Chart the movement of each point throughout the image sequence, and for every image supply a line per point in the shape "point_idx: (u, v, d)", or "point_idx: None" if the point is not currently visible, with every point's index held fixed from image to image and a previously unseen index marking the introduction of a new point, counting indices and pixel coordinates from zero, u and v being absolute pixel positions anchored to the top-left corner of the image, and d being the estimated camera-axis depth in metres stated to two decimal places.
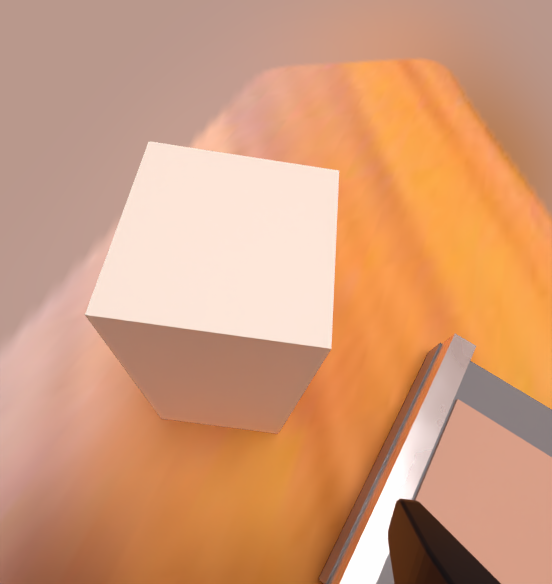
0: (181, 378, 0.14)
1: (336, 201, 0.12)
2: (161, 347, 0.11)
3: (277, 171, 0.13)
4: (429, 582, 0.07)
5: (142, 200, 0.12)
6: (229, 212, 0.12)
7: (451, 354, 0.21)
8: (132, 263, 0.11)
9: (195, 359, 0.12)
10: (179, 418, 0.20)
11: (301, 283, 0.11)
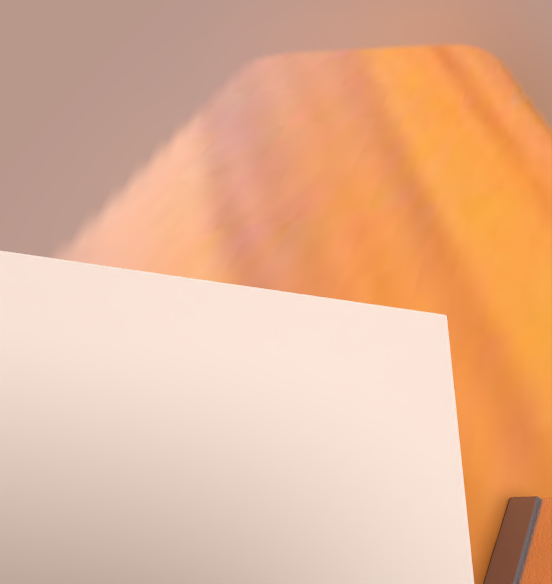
0: None
1: (455, 450, 0.03)
2: None
3: (247, 327, 0.04)
4: None
5: None
6: (35, 549, 0.03)
7: None
8: None
9: None
10: None
11: None
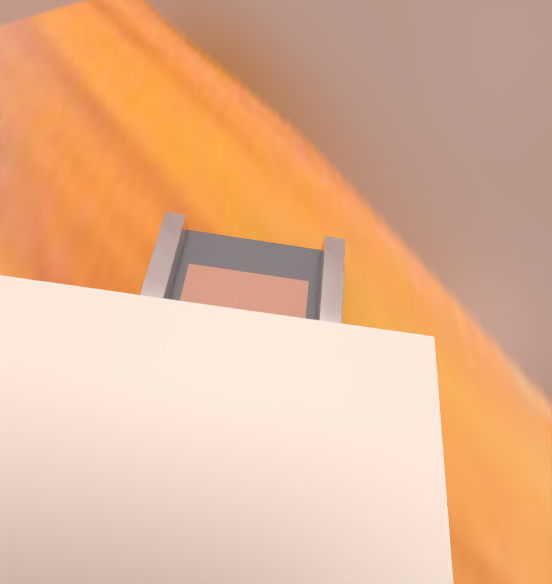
0: None
1: (439, 461, 0.04)
2: None
3: (253, 350, 0.04)
4: None
5: None
6: (68, 553, 0.03)
7: (165, 229, 0.24)
8: None
9: None
10: None
11: None
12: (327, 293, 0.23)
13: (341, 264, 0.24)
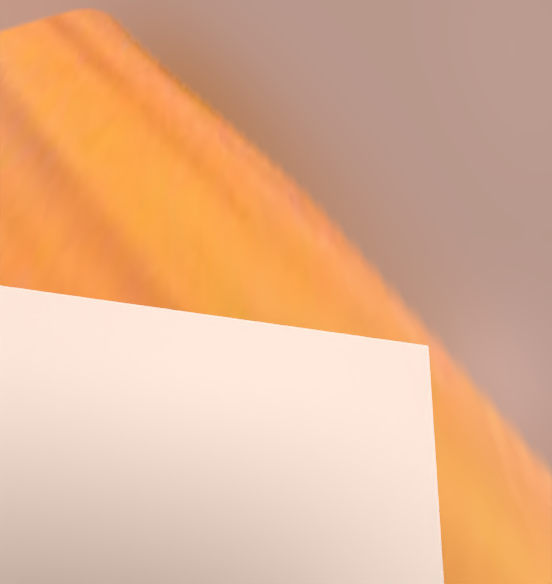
0: None
1: (432, 468, 0.04)
2: None
3: (251, 359, 0.04)
4: None
5: None
6: (73, 557, 0.03)
7: None
8: None
9: None
10: None
11: None
12: None
13: None
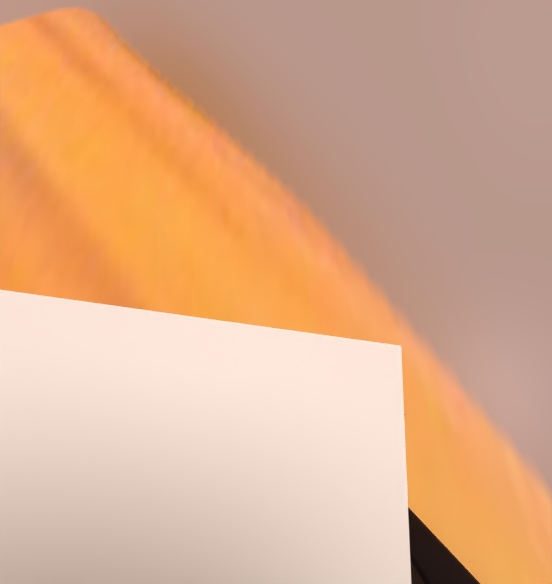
0: None
1: (402, 446, 0.05)
2: None
3: (252, 356, 0.05)
4: None
5: None
6: (110, 514, 0.04)
7: None
8: None
9: None
10: None
11: None
12: None
13: None
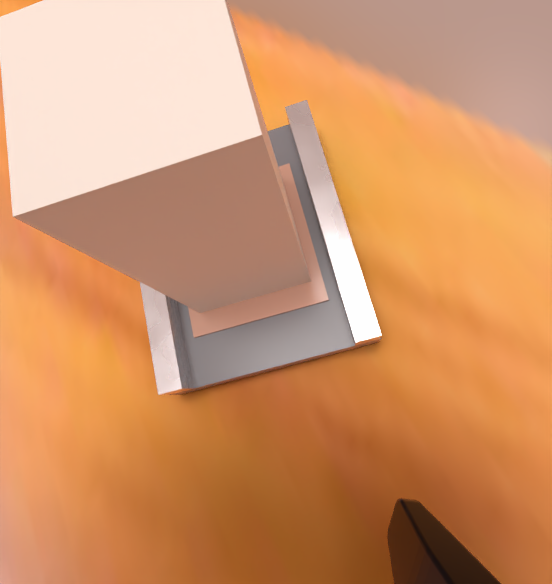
0: (170, 255, 0.14)
1: None
2: (114, 223, 0.11)
3: None
4: (429, 582, 0.07)
5: (17, 82, 0.10)
6: (106, 49, 0.10)
7: None
8: (33, 148, 0.10)
9: (157, 222, 0.11)
10: (214, 305, 0.21)
11: (208, 83, 0.09)
12: (309, 166, 0.21)
13: (312, 129, 0.21)
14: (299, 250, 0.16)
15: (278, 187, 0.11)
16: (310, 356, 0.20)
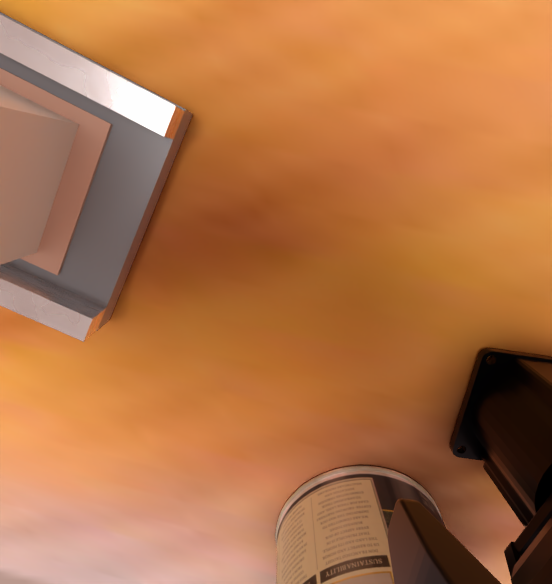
0: None
1: None
2: None
3: None
4: (429, 582, 0.07)
5: None
6: None
7: None
8: None
9: None
10: (34, 234, 0.18)
11: None
12: None
13: None
14: (2, 108, 0.12)
15: None
16: (153, 187, 0.18)
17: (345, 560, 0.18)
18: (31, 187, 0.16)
